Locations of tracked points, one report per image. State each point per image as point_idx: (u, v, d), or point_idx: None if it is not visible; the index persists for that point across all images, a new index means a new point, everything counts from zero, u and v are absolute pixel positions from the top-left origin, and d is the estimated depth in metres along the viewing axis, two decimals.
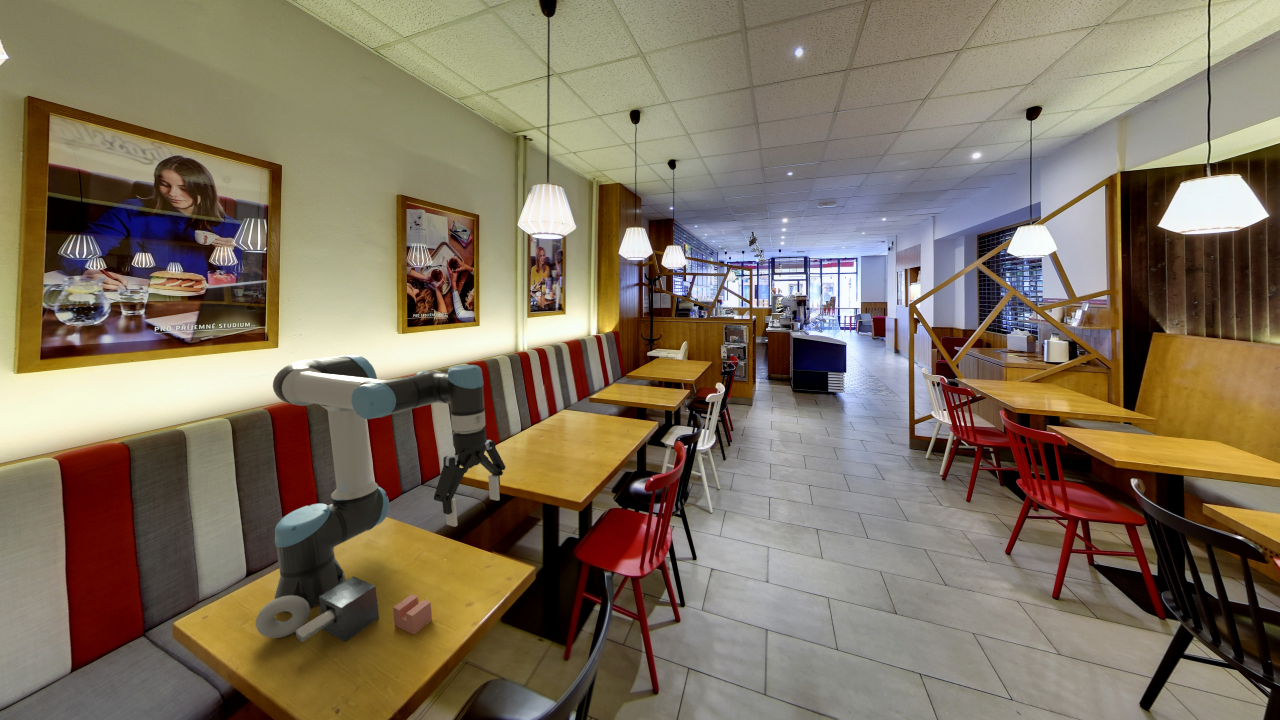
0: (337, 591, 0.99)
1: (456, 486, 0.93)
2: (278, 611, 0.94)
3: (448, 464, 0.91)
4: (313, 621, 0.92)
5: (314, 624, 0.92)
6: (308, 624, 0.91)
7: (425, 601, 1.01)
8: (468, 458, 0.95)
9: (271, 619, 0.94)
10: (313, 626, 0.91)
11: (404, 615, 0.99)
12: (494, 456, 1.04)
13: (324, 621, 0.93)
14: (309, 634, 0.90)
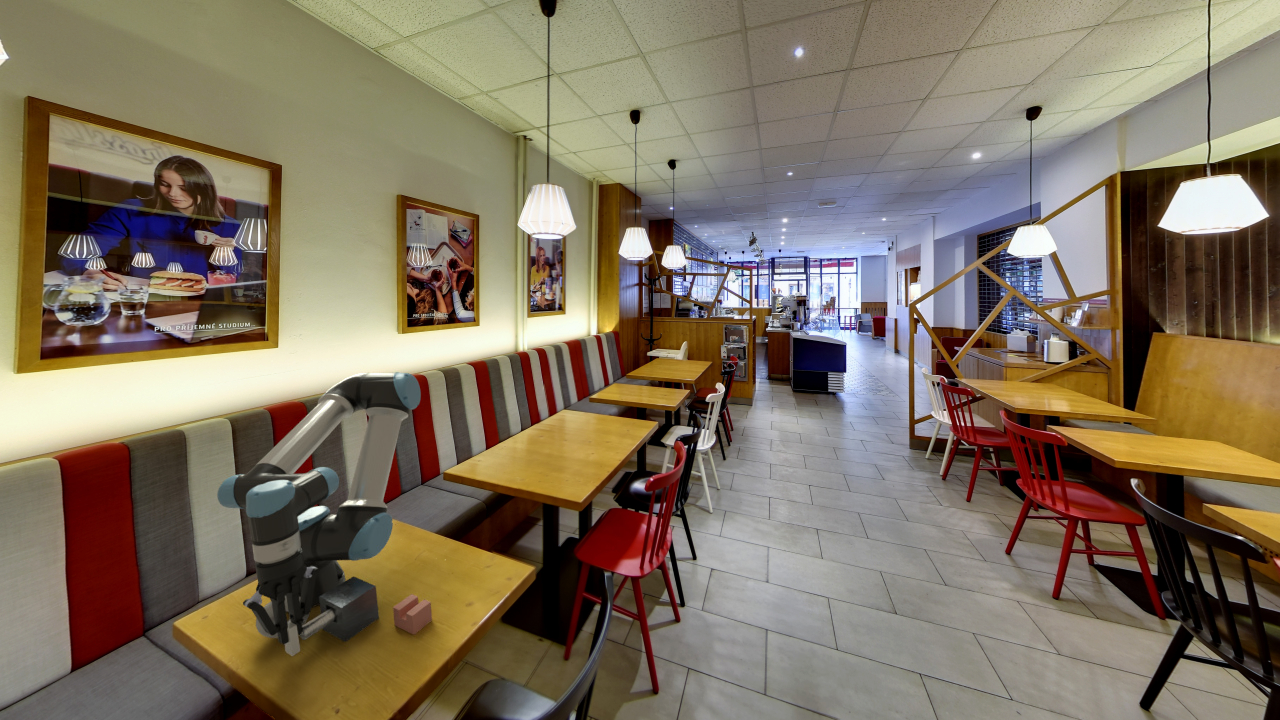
0: (337, 591, 0.99)
1: (283, 616, 0.86)
2: None
3: None
4: (315, 619, 0.93)
5: (316, 621, 0.92)
6: (310, 621, 0.92)
7: (425, 601, 1.01)
8: (276, 591, 0.84)
9: (271, 619, 0.94)
10: (315, 624, 0.92)
11: (404, 615, 0.99)
12: (307, 589, 0.90)
13: (326, 618, 0.94)
14: (311, 631, 0.91)
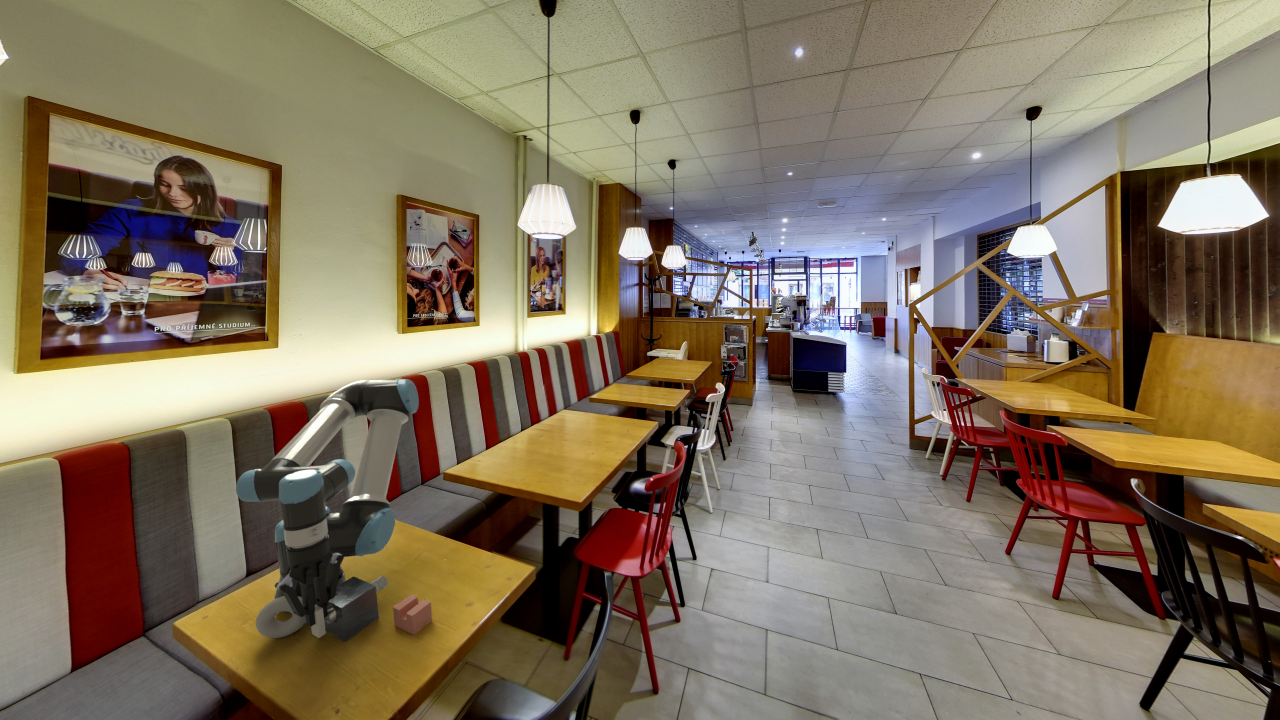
0: (337, 591, 0.99)
1: (311, 599, 0.91)
2: (278, 611, 0.94)
3: (283, 590, 0.86)
4: None
5: None
6: None
7: (425, 601, 1.01)
8: (305, 574, 0.89)
9: (271, 619, 0.94)
10: None
11: (404, 615, 0.99)
12: (332, 574, 0.95)
13: None
14: None
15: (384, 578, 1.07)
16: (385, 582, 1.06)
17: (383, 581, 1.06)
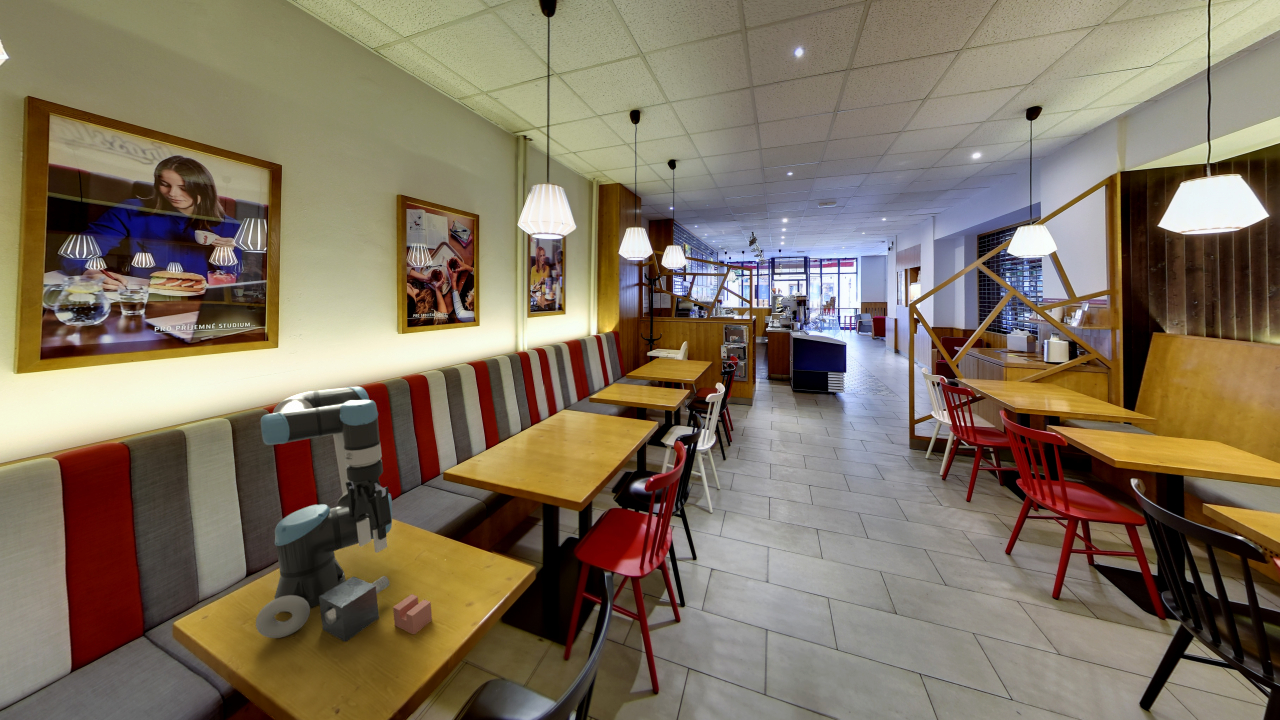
0: (337, 591, 0.99)
1: (356, 510, 1.03)
2: (278, 611, 0.94)
3: None
4: None
5: None
6: None
7: (425, 601, 1.01)
8: None
9: (271, 619, 0.94)
10: None
11: (404, 615, 0.99)
12: None
13: None
14: None
15: (386, 580, 1.07)
16: (387, 584, 1.06)
17: (385, 583, 1.06)
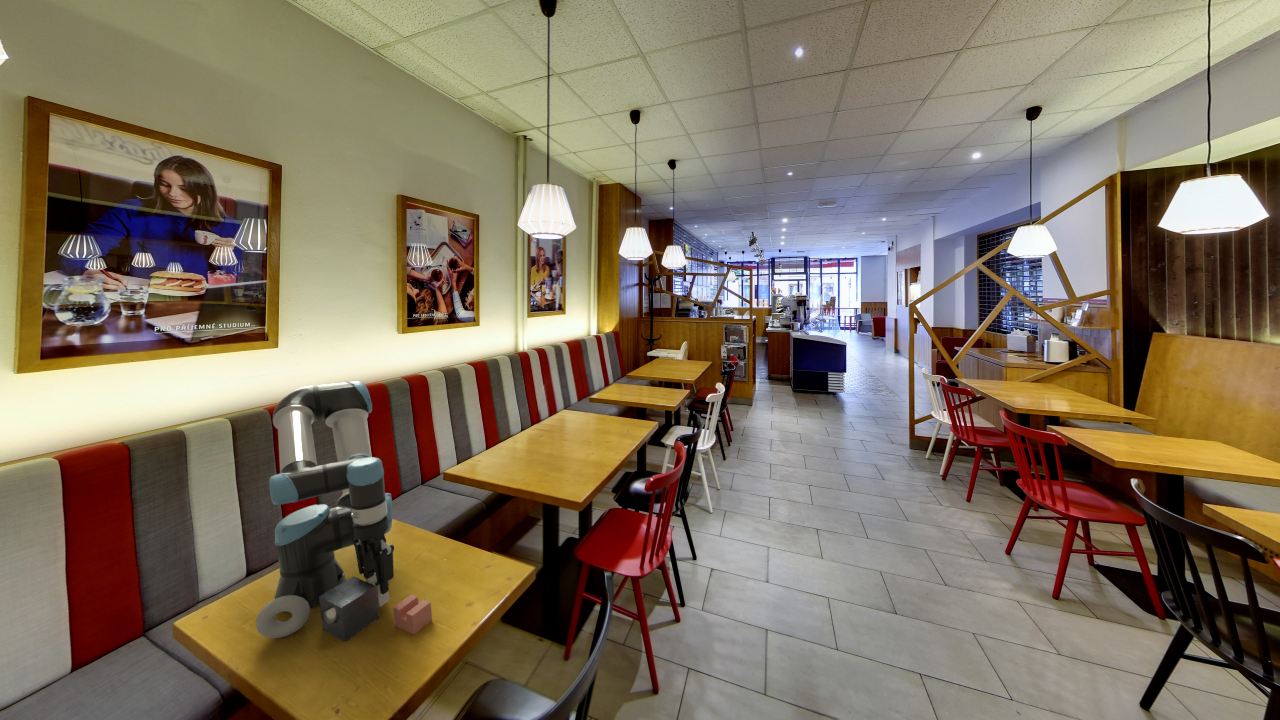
0: (337, 591, 0.99)
1: (365, 567, 1.05)
2: (278, 611, 0.94)
3: None
4: None
5: None
6: None
7: (425, 601, 1.01)
8: None
9: (271, 619, 0.94)
10: None
11: (404, 615, 0.99)
12: None
13: None
14: None
15: None
16: None
17: None
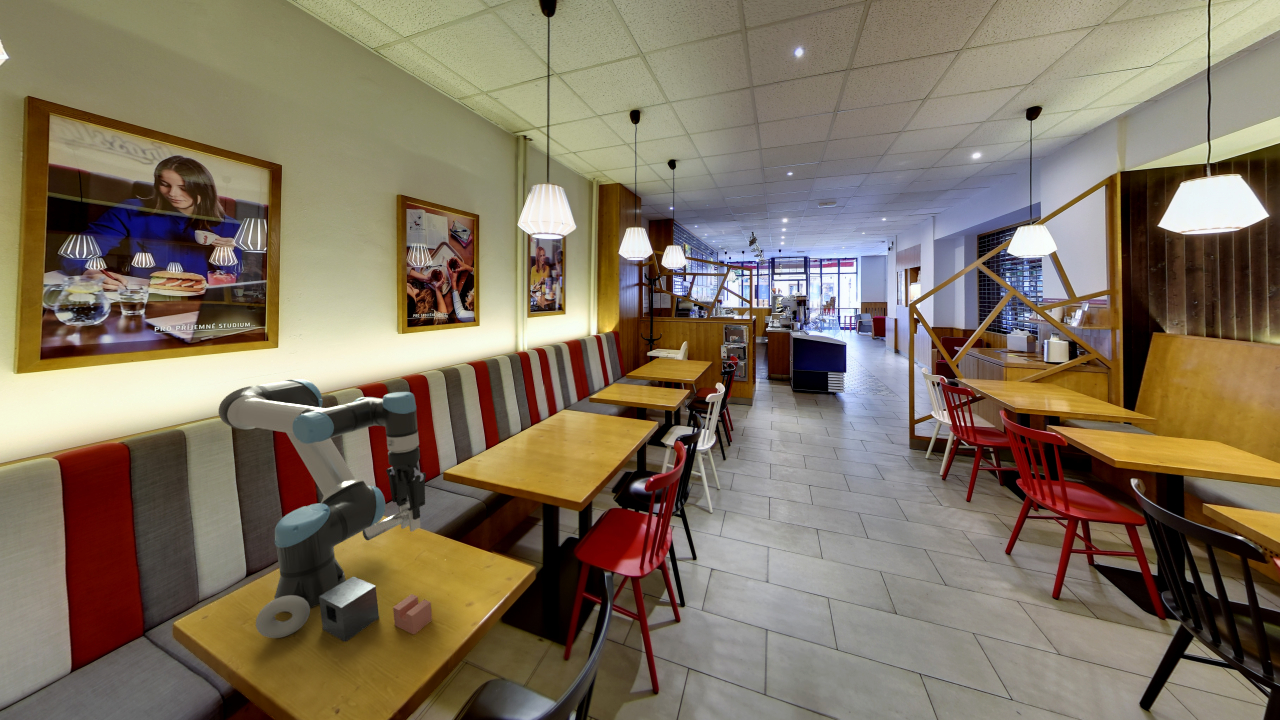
0: (337, 591, 0.99)
1: (398, 494, 1.12)
2: (278, 611, 0.94)
3: None
4: (378, 524, 1.04)
5: (378, 527, 1.04)
6: (373, 526, 1.03)
7: (425, 601, 1.01)
8: None
9: (271, 619, 0.94)
10: (378, 528, 1.04)
11: (404, 615, 0.99)
12: None
13: (386, 526, 1.05)
14: (374, 535, 1.03)
15: None
16: None
17: None
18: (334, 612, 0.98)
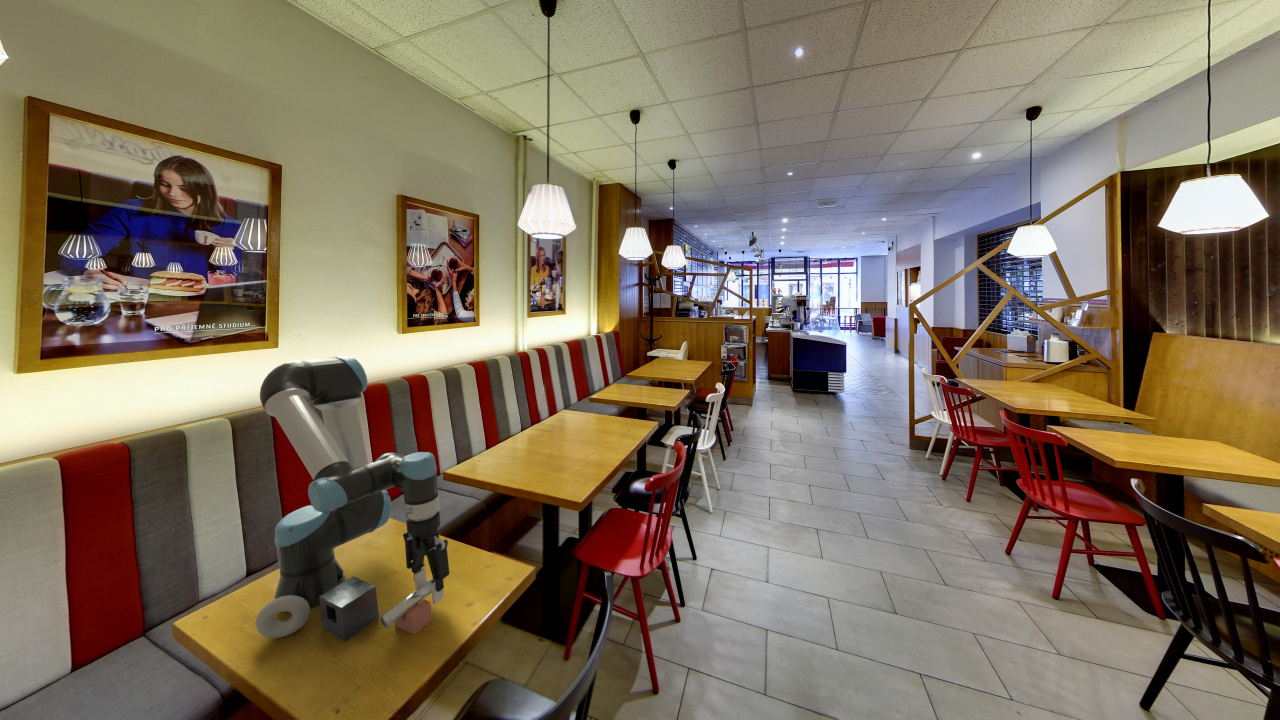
0: (337, 591, 0.99)
1: (414, 562, 1.03)
2: (278, 611, 0.94)
3: None
4: (396, 609, 0.95)
5: (397, 612, 0.95)
6: (392, 611, 0.95)
7: (425, 601, 1.01)
8: None
9: (271, 619, 0.94)
10: (397, 614, 0.95)
11: (404, 615, 0.99)
12: None
13: (405, 609, 0.97)
14: (393, 621, 0.94)
15: None
16: None
17: None
18: (334, 612, 0.98)
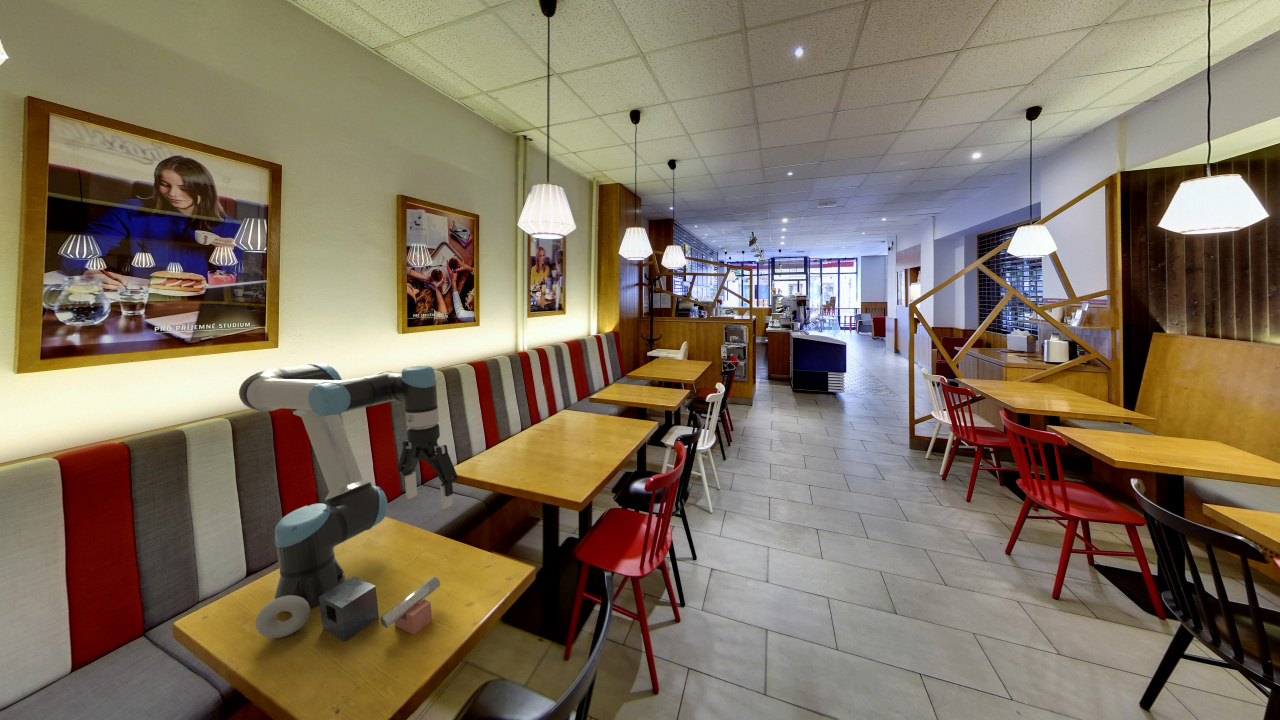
0: (337, 591, 0.99)
1: (407, 466, 1.07)
2: (278, 611, 0.94)
3: None
4: (396, 609, 0.95)
5: (397, 612, 0.95)
6: (392, 611, 0.95)
7: (425, 601, 1.01)
8: None
9: (271, 619, 0.94)
10: (397, 614, 0.95)
11: (404, 615, 0.99)
12: None
13: (405, 609, 0.97)
14: (393, 621, 0.94)
15: (437, 580, 1.05)
16: (438, 584, 1.05)
17: (436, 584, 1.04)
18: (334, 612, 0.98)
